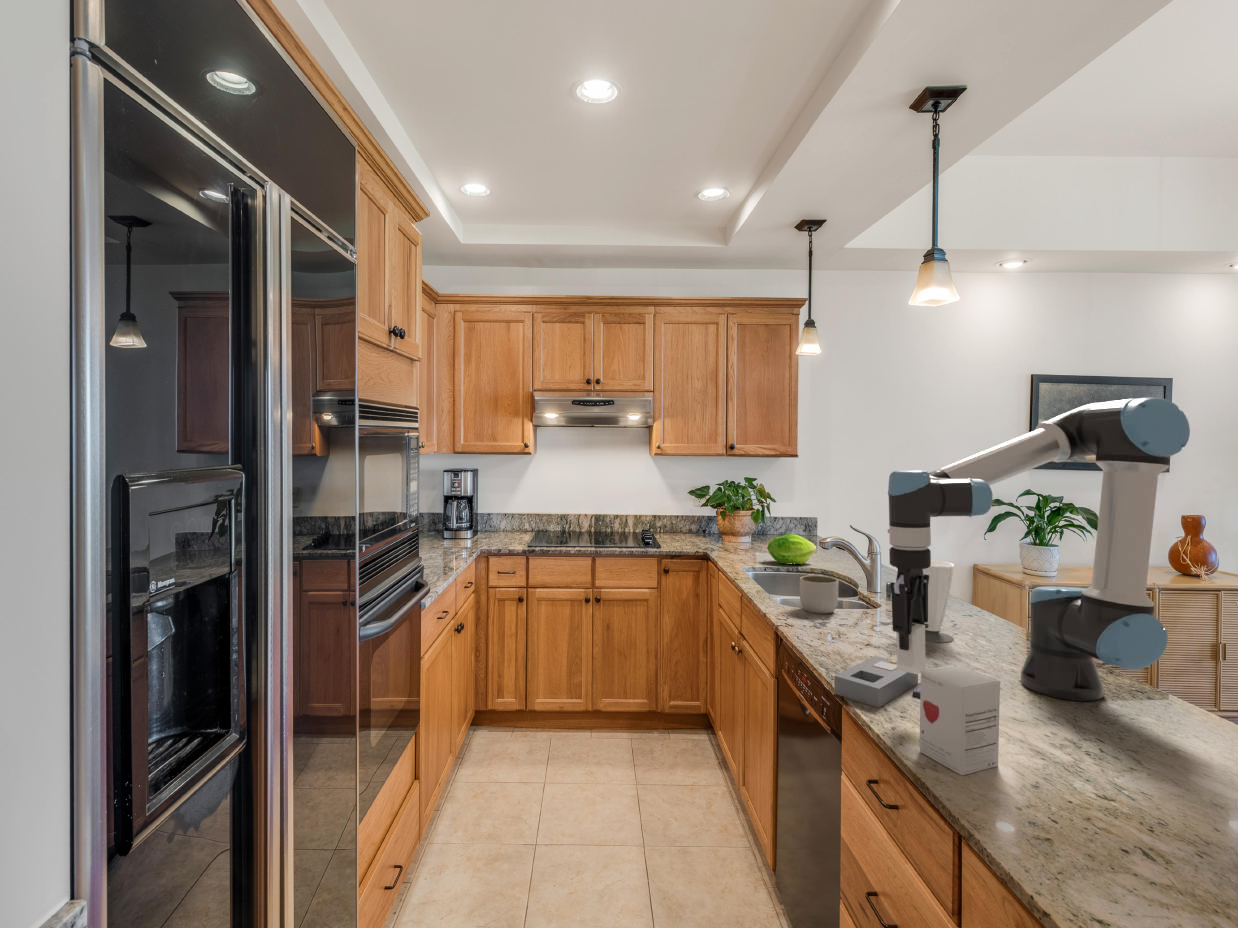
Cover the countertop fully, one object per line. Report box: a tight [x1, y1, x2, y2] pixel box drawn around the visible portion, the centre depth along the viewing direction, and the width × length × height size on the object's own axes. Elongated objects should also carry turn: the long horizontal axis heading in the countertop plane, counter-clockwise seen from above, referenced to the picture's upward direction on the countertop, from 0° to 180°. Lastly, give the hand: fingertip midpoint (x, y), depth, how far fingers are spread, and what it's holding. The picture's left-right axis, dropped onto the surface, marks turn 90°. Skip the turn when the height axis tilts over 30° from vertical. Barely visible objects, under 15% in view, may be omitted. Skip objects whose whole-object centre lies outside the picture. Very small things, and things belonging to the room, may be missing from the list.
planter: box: [799, 574, 839, 615], centre depth 206 cm, size 12×12×11 cm
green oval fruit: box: [766, 533, 817, 565], centre depth 293 cm, size 15×23×16 cm
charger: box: [896, 623, 927, 676], centre depth 123 cm, size 4×4×9 cm
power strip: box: [833, 655, 919, 708], centre depth 138 cm, size 10×20×4 cm, turn 132°
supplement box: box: [919, 663, 1001, 776], centre depth 106 cm, size 9×9×15 cm
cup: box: [923, 559, 955, 644], centre depth 177 cm, size 12×12×22 cm
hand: (911, 661), depth 123 cm, fingers closed on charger, 4 cm apart
